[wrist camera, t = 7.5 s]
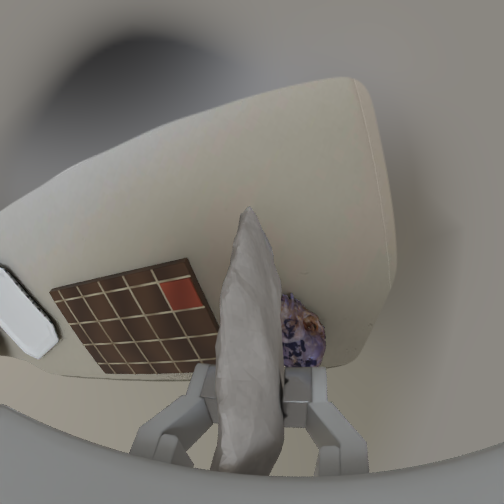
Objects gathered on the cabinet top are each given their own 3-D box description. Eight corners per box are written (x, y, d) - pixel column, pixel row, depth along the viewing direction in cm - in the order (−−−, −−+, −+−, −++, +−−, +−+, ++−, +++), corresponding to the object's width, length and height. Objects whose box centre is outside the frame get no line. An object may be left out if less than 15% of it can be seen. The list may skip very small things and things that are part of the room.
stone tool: (288, 309, 21) (327, 530, 8) (243, 319, 22) (248, 539, 9) (256, 181, 17) (299, 457, 4) (201, 196, 18) (119, 466, 4)
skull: (255, 293, 40) (257, 326, 35) (314, 279, 39) (324, 310, 34) (276, 353, 46) (279, 385, 40) (325, 342, 45) (334, 372, 40)
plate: (-17, 295, 52) (-22, 300, 51) (0, 251, 45) (-8, 257, 43) (39, 357, 59) (35, 363, 57) (69, 329, 51) (63, 337, 49)
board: (187, 257, 39) (183, 263, 38) (237, 363, 48) (236, 370, 47) (52, 288, 46) (48, 293, 45) (107, 369, 55) (104, 374, 54)
